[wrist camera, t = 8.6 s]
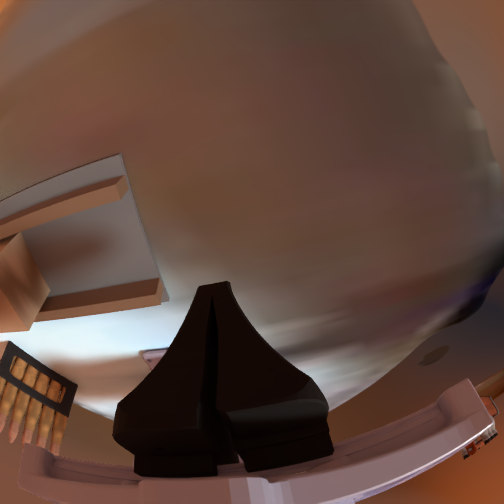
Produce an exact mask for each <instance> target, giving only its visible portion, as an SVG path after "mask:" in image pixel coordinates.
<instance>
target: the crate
mask: <svg viewBox="0 0 504 504" xmlns="http://www.w3.org/2000/svg"><path fill="white" fill-rule="evenodd" d="M50 291H51V290H50V288H49V287H48V285H47V283H46V281H45V280H44V278H43V276H42V274H41V272H40V270H39V268H38V266H37V265H36V263H35V261H34V259H33V257H32V255H31V253H30V250H29V248H28V246H27V244H26V242H25V240H24V238H23V235H22V233H21V232H19V233H16V234H13V235H11V236H8V237H6V238H3V239H1V240H0V333H6V332H20V331H29V330H30V328H31V326H32V324H33V322H34V320H35V318H36V316H37V314H38V312H39V310H40V308H41V307H42V305H43V303H44V301H45V299H46V298H47V296H48V294H49V292H50Z"/></svg>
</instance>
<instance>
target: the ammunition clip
mask: <svg viewBox="0 0 504 504" xmlns="http://www.w3.org/2000/svg"><path fill="white" fill-rule="evenodd" d="M14 362H15V363H14ZM13 364H14V365H13ZM12 366H13V368H12ZM11 369H12V370H11ZM25 370H26V371H25ZM10 371H11V373H10ZM24 373H25V374H24ZM23 375H24V377H23ZM37 376H38V377H37ZM22 378H23V379H22ZM36 379H37V380H36ZM35 382H36V383H35ZM5 385H6V386H5ZM34 385H35V386H34ZM48 385H49V387H48ZM4 386H5V388H4ZM33 387H34V389H33ZM77 387H78V385H77V384H75V383H73V382H71V381H70V380H68V379H66V378H65V377H63V376H61V375H60V374H58V373H56V372H55V371H53V370H51V369H50V368H48V367H47V366H45V365H44V364H42V363H41V362H39V361H38V360H36V359H35V358H33V357H32V356H30V355H29V354H27V353H26V352H24V351H23V350H22V349H20V348H19V347H18V346H16V345H15V344H14V343H12V342H11V341H9V342H8V344H7V347H6V349H5V351H4V354H3V356H2V359H1V361H0V397H1V394H2V392H3V394H2V397H1V401H0V433H1V431H2V429H3V427H4V425H5V422H6V420H7V417H8V415H9V412H10V410H11V409H12V406H13V403H14V400H15V397H16V394H17V393H18V394H17V397H16V400H15V403H14V406H13V413H12V418H11V423H10V428H9V441H10V443H12V442H13V441H14V440H15V438H16V436H17V433H18V431H19V427H20V425H21V422H22V419H23V418H24V416H25V413H26V409H27V406H28V403H29V406H28V409H27V413H26V418H25V425H24V431H23V438H22V446H23V448H24V443H29V444H30V442H31V439H32V436H33V432H34V429H35V426H36V424H37V422H38V418H39V415H40V411H41V408H42V412H41V416H40V420H39V427H38V436H37V442H36V446H40V447H42V448H45V445H46V441H47V437H48V434H49V432H50V430H51V426H52V421H53V417H54V415H55V418H54V423H53V427H52V437H51V445H50V452H51V453H53V454H54V455H57V456H58V454H59V450H60V446H61V442H62V439H63V436H64V432H65V428H66V423H67V418H68V417H69V413H70V409H71V406H72V403H73V400H74V396H75V393H76V390H77ZM47 388H48V390H47ZM3 389H4V391H3ZM46 391H47V394H46ZM60 391H61V394H60ZM45 394H46V396H45ZM59 395H60V397H59ZM58 398H59V402H58ZM29 401H30V402H29ZM57 402H58V403H57Z"/></svg>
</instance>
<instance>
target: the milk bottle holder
mask: <svg viewBox="0 0 504 504" xmlns="http://www.w3.org/2000/svg"><path fill="white" fill-rule="evenodd" d="M480 399H481V400H482V402H483V404H484V406H485V407H486V409H487V411H488V413H489V414H490V416H491V418H492V420H493V425H491V426H490V427H489V428H488V429H487V430H486V431H484V432H483V433H482V434H481V435H480V436H479V437H481V438H482V439H481V440H480V441H478V442H477V438H476V439H475V440H473V441H472V442H471V443H470V444H468V445H467V446H466V447H464V448H463V449H461V450H460V451H459V452H461V453H462V457H463V458H464V459H465V458H467V457H469V456H470V455H473V454H474V453H475V452H476V451H477V450H478V449H480V447H481V446H482V445H483V444H487V443H488V442H489V441H491V440H492V439H493V438H494V437H495V436H497V435H498V434H497V431H496V430H495V421H494V419H493V418H494V417H495V416H496V415H497V414H498V413H499V411H498V409H497V407H496V405H495V403H494V402H493V400H492V398H491V397H490V396H488V397H480ZM496 413H497V414H496Z"/></svg>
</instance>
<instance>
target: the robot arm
mask: <svg viewBox="0 0 504 504" xmlns="http://www.w3.org/2000/svg"><path fill="white" fill-rule="evenodd" d="M143 358H144V360H145V361H146V363H147V364H148V366H149V367H150V369H151V370H152V371H151V372H150V373H149V374H148V375H147V376H146V377H145V379H144V380H143V381H142V382H141V383H140V384H139V385H138V386H137V387H136V388H135V389H134V390H133V391H132V392H130V393H129V394H128V395H127V396H126V397H125V398H124V399H122V400H121V401H120V402H119V403H118V405H117V409H116V412H115V418H114V425H113V434H112V436H113V438H114V440H115V441H116V442H117V443H118V444H119V445H121V446H122V447H124V448H125V449H126V450H128V451H129V452H131V453H132V454H134V461H133V466H122V465H112V464H103V463H95V462H89V461H82V460H77V459H71V458H66V457H61V456H57V455H54V454H53V453H51V452H50V451H48V450H47V449H45V448H42V447H40V446H36V445H32V444H29V443H24V448H23V453H22V458H21V463H20V470H19V476H18V483H17V486H18V487H19V488H21V489H23V490H25V491H27V492H30V493H32V494H34V495H36V496H38V497H40V498H43V499H46V500H48V501H50V502H53V503H55V504H355V502H357V501H360V500H362V499H365V498H368V497H370V496H373V495H375V494H377V493H380V492H383V491H385V490H387V489H390V488H391V487H394V486H396V485H398V484H401V483H403V482H405V481H407V480H409V479H411V478H413V477H415V476H417V475H418V474H420V473H422V472H424V471H426V470H428V469H430V468H431V467H433V466H435V465H437V464H438V463H440V462H442V461H444V460H445V459H447V458H448V457H450V456H452V455H453V454H455V453H456V452H458V451H460V450H461V449H463V448H464V447H466V446H467V445H468V444H470V443H471V442H472V441H473V440H475V439H476V438H477V437H478V436H480V435H481V434H482V433H483V432H484V431H486V430H487V429H488V428H489V427H490V426H491V425H493V420H492V418H491V416H490V414H489V413H488V411H487V409H486V407H485V406H484V404H483V402H482V400H481V399H480V397H479V395H478V394H477V392H476V390H475V389H474V387H473V385H472V384H471V382H470V380H469V379H464V380H463V381H461V382H460V383H458V384H456V385H454V386H452V387H451V388H449V389H447V390H446V391H445V392H444V393H443V394H442V395H441V396H440V397H439V399H438V401H437V402H435V403H433V404H431V405H429V406H427V407H425V408H423V409H421V410H419V411H417V412H415V413H413V414H410V415H408V416H406V417H404V418H402V419H399V420H397V421H395V422H393V423H390V424H387V425H385V426H382V427H380V428H377V429H375V430H372V431H369V432H367V433H364V434H361V435H358V436H355V437H352V438H349V439H347V440H343V441H340V442H336V443H333V444H332V441H331V438H330V435H329V427H328V424H327V415H328V411H329V406H328V403H327V400H326V398H325V397H324V395H323V393H322V392H321V390H320V389H319V387H318V386H317V385H316V383H315V382H314V381H313V379H312V378H311V377H309V376H308V375H306V374H305V373H303V372H302V371H300V370H299V369H297V368H296V367H295V366H293V365H292V364H291V363H289V362H288V361H287V360H286V359H284V358H283V357H282V356H281V355H280V354H279V353H278V352H277V351H275V350H274V349H273V348H272V347H271V346H270V345H269V344H268V343H267V342H266V341H265V340H264V339H263V338H262V336H261V335H260V334H259V333H258V332H257V331H256V329H255V328H254V327H253V326H252V324H251V323H250V322H249V320H248V319H247V317H246V316H245V314H244V313H243V311H242V310H241V308H240V306H239V305H238V303H237V301H236V299H235V297H234V295H233V292H232V289H231V285H230V282H228V281H224V282H219V283H213V284H208V285H202V286H199V287H198V288H197V291H196V294H195V297H194V299H193V302H192V304H191V307H190V309H189V311H188V313H187V315H186V317H185V320H184V322H183V324H182V326H181V327H180V329H179V331H178V333H177V335H176V337H175V338H174V340H173V342H172V343H171V345H170V346H169V348H168V349H167V350H158V351H149V352H144V353H143ZM304 471H307V472H305V473H300V472H304ZM296 473H299V474H296ZM291 474H293V475H291Z"/></svg>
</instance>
